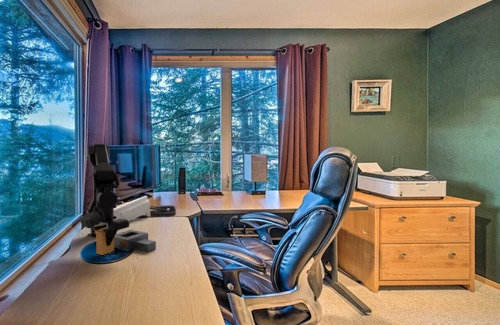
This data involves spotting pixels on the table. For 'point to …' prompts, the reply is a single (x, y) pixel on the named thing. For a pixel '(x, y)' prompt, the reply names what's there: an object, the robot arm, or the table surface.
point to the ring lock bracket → (134, 241)
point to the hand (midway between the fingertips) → (105, 245)
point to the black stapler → (163, 210)
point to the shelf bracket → (133, 209)
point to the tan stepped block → (103, 243)
